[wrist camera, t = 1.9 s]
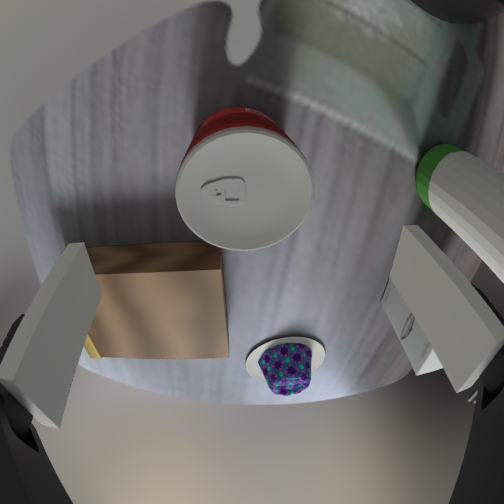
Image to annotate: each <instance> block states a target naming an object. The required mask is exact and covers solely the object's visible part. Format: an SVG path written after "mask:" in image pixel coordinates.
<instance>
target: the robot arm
mask: <svg viewBox="0 0 504 504" xmlns="http://www.w3.org/2000/svg"><path fill="white" fill-rule="evenodd" d="M411 1H412V2H414V3H415V4H416V5H417V6H419V7H420V8H421V9H423V10H424V11H426V12H427V13H429V14H431V15H432V16H434V17H436V18H438V19H441V20H443V21H447V22H450V23H478V22H482V21H484V20H486V19H487V18H489V17H491V16H494V15H496V14H498V13H500V12H502V11H504V0H411ZM389 278H390V279H391V281H392V282H393V284H394V285H395V287H396V288H397V290H398V291H399V293H400V295H401V296H402V298H403V299H404V301H405V303H406V304H407V306H408V307H409V309H410V311H411V312H412V314H413V316H414V317H415V319H416V320H417V322H418V324H419V326H420V327H421V329H422V331H423V332H424V334H425V336H426V337H427V339H428V341H429V343H430V345H431V346H432V348H433V350H434V352H435V353H436V355H437V357H438V359H439V361H440V363H441V364H442V366H443V368H444V370H445V372H446V374H447V376H448V378H449V379H450V382H451V383H452V385H453V387H454V389H455V391H456V393H458V392H460V391H462V390H465V389H467V388H469V387H471V386H472V385H473V384H474V382H475V381H476V380H477V379H478V378H479V377H480V379H481V381H482V383H481V384H480V385H479V386H478V387H477V389H476V390H475V391H474V392H473V393H472V394H471V395H470V396H469V399H468V401H471V400H472V399H473V398H474V397H475V396H476V395H477V398H476V399H475V401H474V402H473V403H475V404H476V405H475V411H474V416H473V421H472V426H471V431H470V435H469V439H468V443H467V448H466V452H465V455H464V459H463V463H462V466H461V469H460V472H459V476H458V479H457V482H456V485H455V488H454V491H453V493H452V496H451V499H450V501H449V504H504V319H503V318H502V317H501V315H500V314H499V313H498V311H497V310H495V307H494V306H493V305H492V303H491V302H490V303H489V300H488V298H487V297H486V296H485V295H484V293H483V292H482V291H481V290H480V289H478V288H477V287H475V286H474V285H473V284H471V283H470V282H469V281H468V280H467V279H466V277H465V276H464V275H463V274H462V273H461V272H460V270H459V269H458V268H457V267H456V266H455V265H454V264H453V262H452V261H451V260H450V259H449V258H448V257H447V256H446V255H445V254H444V252H443V251H442V250H441V249H440V248H439V247H438V246H437V245H436V244H435V243H434V242H433V241H432V240H431V239H430V238H429V236H428V235H427V234H426V233H425V232H424V231H423V230H422V229H421V228H420V227H419V226H418V225H403V229H402V233H401V237H400V240H399V244H398V248H397V251H396V255H395V258H394V262H393V265H392V269H391V272H390V275H389ZM102 295H103V294H102V292H101V289H100V287H99V284H98V281H97V279H96V276H95V273H94V270H93V267H92V265H91V262H90V259H89V256H88V253H87V250H86V247H85V243H84V242H81V243H69V244H68V245H67V247H66V248H65V250H64V251H63V253H62V254H61V256H60V257H59V259H58V260H57V262H56V263H55V265H54V267H53V268H52V270H51V271H50V273H49V274H48V276H47V278H46V279H45V281H44V282H43V284H42V286H41V287H40V289H39V291H38V293H37V294H36V296H35V298H34V300H33V301H32V303H31V305H30V306H29V308H28V310H27V312H26V314H22V315H21V316H20V317H19V318H18V319H17V320H16V321H15V322H14V323H13V324H12V326H11V328H10V330H9V332H8V334H7V337H6V338H5V340H4V342H3V346H1V348H0V504H73V503H72V501H71V499H70V498H69V496H68V494H67V493H66V491H65V489H64V487H63V485H62V483H61V482H60V480H59V478H58V476H57V474H56V472H55V470H54V468H53V466H52V464H51V462H50V460H49V458H48V456H47V454H46V452H45V449H44V447H43V445H42V443H41V440H40V438H39V436H38V433H37V431H36V429H35V427H34V426H33V424H32V423H31V422H32V419H33V417H34V418H36V419H37V420H38V421H39V422H40V423H41V424H42V425H46V426H50V427H54V428H60V426H61V422H62V417H63V414H64V409H65V406H66V402H67V398H68V394H69V391H70V388H71V384H72V381H73V377H74V374H75V371H76V367H77V364H78V361H79V358H80V355H81V352H82V349H83V346H84V343H85V340H86V337H87V335H88V332H89V329H90V326H91V323H92V321H93V318H94V315H95V313H96V310H97V308H98V305H99V302H100V300H101V297H102Z"/></svg>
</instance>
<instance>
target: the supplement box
mask: <svg viewBox="0 0 504 504" xmlns="http://www.w3.org/2000/svg"><path fill="white" fill-rule="evenodd" d="M381 304H382V306H383V308H384V310H385V312H386V314H387V316H388V318H389V320H390V322H391V324H392V326H393V328H394V330H395V332H396V334H397V336H398V338H399V340H400V342H401V344H402V346H403V348H404V350H405V352H406V354H407V356H408V358H409V361H410V363H411V365H412V367H413V369H414V371H415V373H416V375H420V374H424V373H428V372H431V371H434V370H438V369H441V368H443V366H442V364H441V363H440V361H439V359H438V357H437V355H436V353H435V352H434V350H433V348H432V346H431V345H430V343H429V341H428V339H427V337H426V336H425V334H424V332H423V331H422V329H421V327H420V326H419V324H418V322H417V320H416V319H415V317H414V316H413V314H412V312H411V311H410V309H409V307H408V306H407V304H406V303H405V301H404V299H403V298H402V296H401V295H400V293H399V291H398V290H397V288H396V287H395V285H394V284H393V282H392V281H391V279H390V278H389V281H388V284H387V287H386V290H385V293H384V295H383V298H382V300H381Z"/></svg>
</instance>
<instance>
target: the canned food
mask: <svg viewBox="0 0 504 504" xmlns="http://www.w3.org/2000/svg"><path fill="white" fill-rule="evenodd" d="M175 197H176V202H177V208H178V210H179V212H180V215H181V217H182V219H183V220H184V222H185V223H186V225H187V226H188V227H189V229H191V230H192V231H193V232H194V233H195V234H196V235H197V236H198V237H200V238H201V239H203V240H204V241H206V242H208V243H210V244H212V245H215V246H217V247H219V248H224V249H228V250H235V251H250V250H258V249H262V248H266V247H269V246H272V245H274V244H276V243H279V242H281V241H282V240H284V239H285V238H287V237H288V236H290V235H291V234H292V233H293V232H294V231H295V230H297V229H298V228H299V227H300V225H301V224H302V223H303V221H304V220H305V219H306V217H307V215H308V213H309V211H310V209H311V206H312V202H313V198H314V181H313V176H312V172H311V169H310V167H309V165H308V163H307V160H306V158H305V157H304V155H303V154H302V153H301V151H300V150H299V149H298V147H297V146H296V145H295V143H294V142H293V141H292V140H291V139H290V138H289V137H288V136H287V135H286V134H285V133H284V131H283V130H282V129H281V128H280V127H279V126H278V125H277V124H276V123H275V122H274V121H273V120H272V119H271V118H270V117H268V116H267V115H266V114H264V113H262V112H260V111H258V110H255V109H252V108H247V107H230V108H226V109H223V110H220V111H218V112H216V113H214V114H212V115H211V116H209V117H208V118H207V119H206V120H205V121H204V122H203V123H202V124H201V125H200V126H199V128H198V130H197V132H196V133H195V135H194V137H193V139H192V141H191V143H190V146H189V148H188V150H187V152H186V154H185V156H184V158H183V160H182V162H181V165H180V168H179V171H178V175H177V178H176V190H175Z"/></svg>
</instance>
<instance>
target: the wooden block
mask: <svg viewBox="0 0 504 504" xmlns="http://www.w3.org/2000/svg"><path fill="white" fill-rule="evenodd" d="M86 250H87V253H88V256H89V259H90V262H91V265H92V267H93V270H94V273H95V276H96V279H97V281H98V284H99V287H100V289H101V292H102V294H103V295H102V297H101V300H100V302H99V305H98V308H97V310H96V313H95V315H94V318H93V321H92V323H91V326H90V329H89V332H88V335H87V337H86V340H85V343H84V347H85V349H86V351H87V352H88V354H89V356H90V357H91V358H100V359H102V357H115V358H142V359H201V358H228V357H229V334H228V319H227V307H226V296H225V284H224V272H223V259H222V248H219V247H217V246H215V245H212V244H210V243H208V242H206V241H204V240H203V241H185V242H168V243H150V244H134V245H118V246H103V247H88V248H86Z"/></svg>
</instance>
